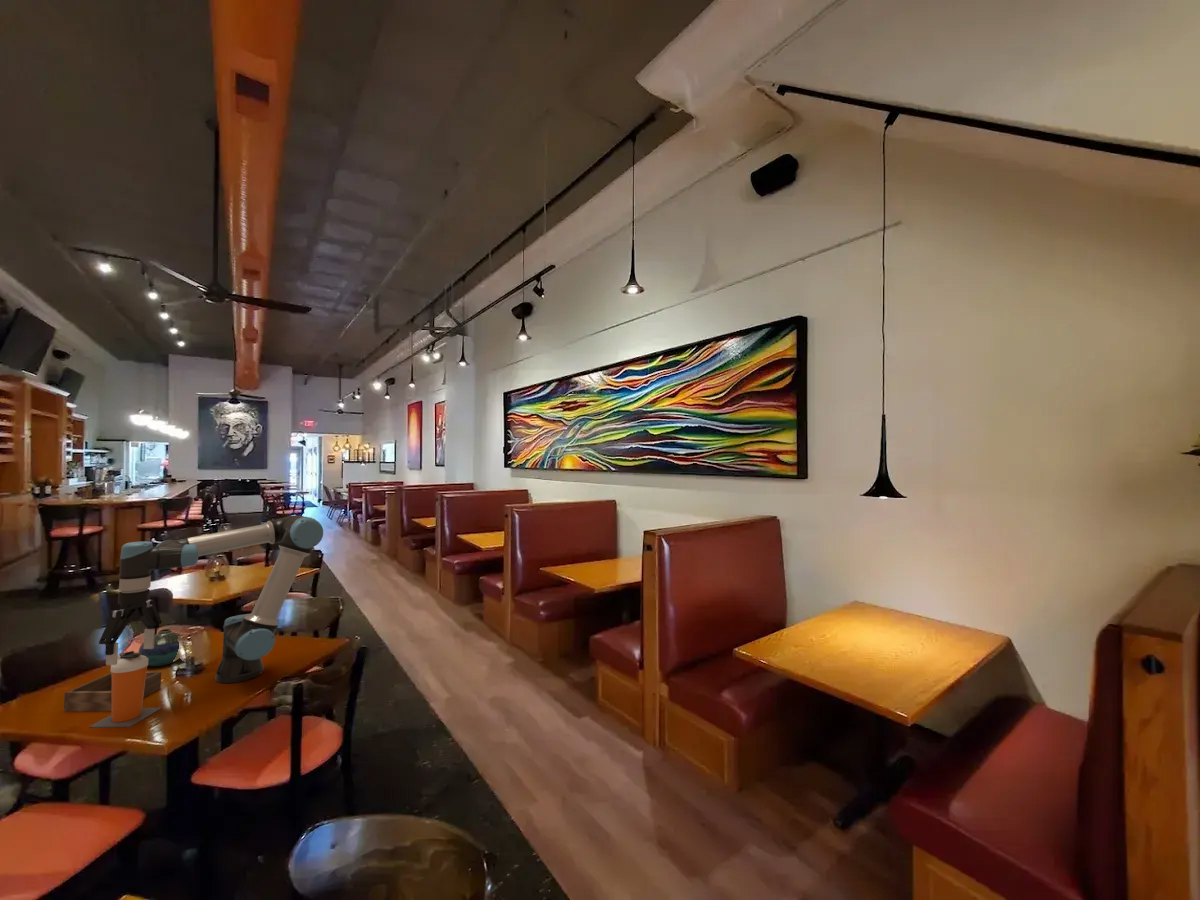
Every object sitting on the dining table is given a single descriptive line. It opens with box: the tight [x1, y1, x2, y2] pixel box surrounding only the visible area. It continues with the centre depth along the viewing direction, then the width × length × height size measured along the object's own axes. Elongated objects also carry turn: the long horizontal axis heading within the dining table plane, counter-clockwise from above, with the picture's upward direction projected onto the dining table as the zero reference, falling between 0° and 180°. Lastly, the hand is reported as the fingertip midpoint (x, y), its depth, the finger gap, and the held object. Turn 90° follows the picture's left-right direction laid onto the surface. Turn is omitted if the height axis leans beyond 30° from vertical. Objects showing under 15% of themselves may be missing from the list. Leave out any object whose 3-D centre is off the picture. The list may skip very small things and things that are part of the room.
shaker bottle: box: [109, 650, 149, 722], centre depth 160 cm, size 9×9×20 cm
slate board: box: [88, 707, 163, 729], centre depth 160 cm, size 12×12×1 cm
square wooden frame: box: [63, 671, 162, 712], centre depth 172 cm, size 17×17×6 cm
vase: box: [137, 628, 182, 667], centre depth 203 cm, size 15×15×13 cm
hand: (130, 656), depth 160 cm, fingers open, 13 cm apart
